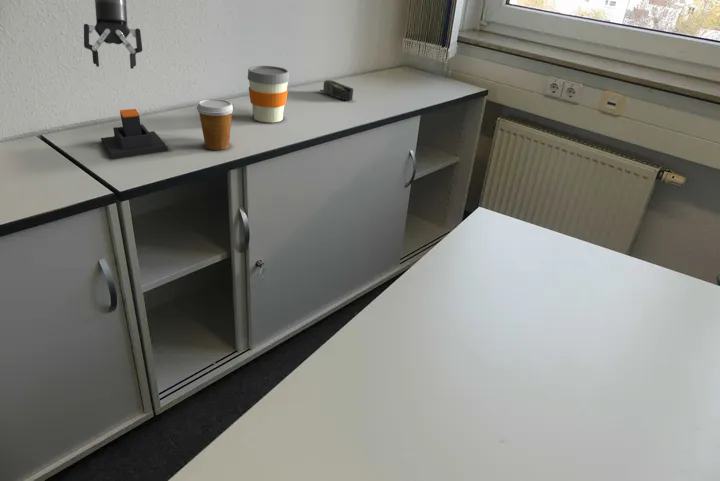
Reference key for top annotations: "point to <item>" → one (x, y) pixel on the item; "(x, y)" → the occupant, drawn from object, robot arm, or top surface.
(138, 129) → the pad block
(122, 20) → the robot arm
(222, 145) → the disposable coffee cup
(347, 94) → the dark grey block piece
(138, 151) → the base pad
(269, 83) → the reusable coffee cup
